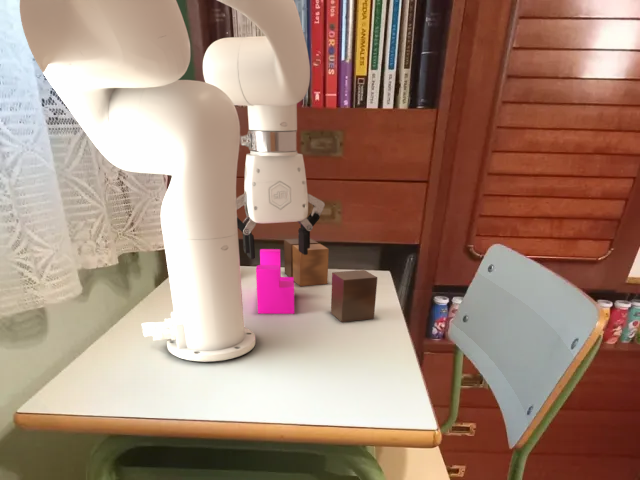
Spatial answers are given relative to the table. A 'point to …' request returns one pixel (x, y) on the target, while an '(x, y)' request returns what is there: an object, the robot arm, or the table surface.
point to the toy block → (273, 285)
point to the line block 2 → (353, 295)
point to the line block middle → (310, 265)
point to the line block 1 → (291, 254)
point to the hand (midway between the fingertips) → (277, 255)
